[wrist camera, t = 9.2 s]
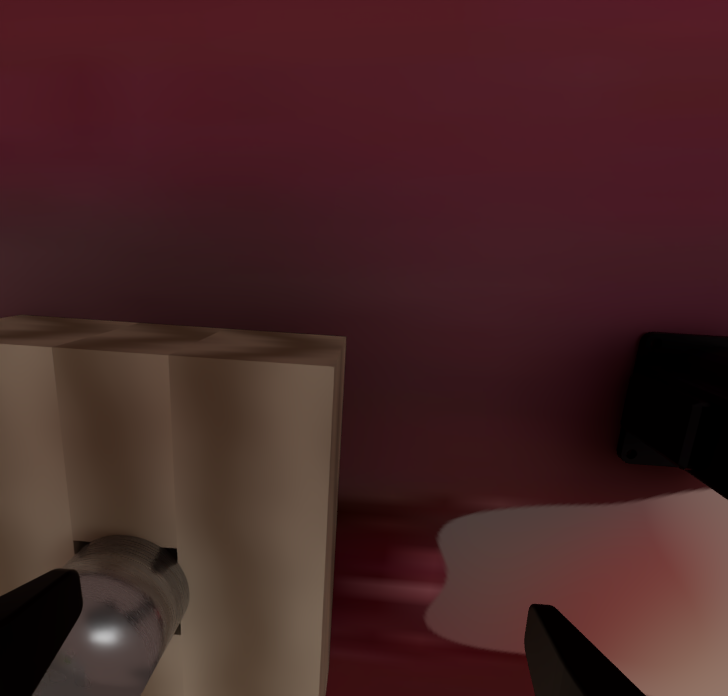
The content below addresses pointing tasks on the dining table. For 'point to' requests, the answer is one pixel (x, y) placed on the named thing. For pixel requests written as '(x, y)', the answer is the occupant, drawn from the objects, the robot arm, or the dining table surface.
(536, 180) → the dining table surface
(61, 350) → the hitch block
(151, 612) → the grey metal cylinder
